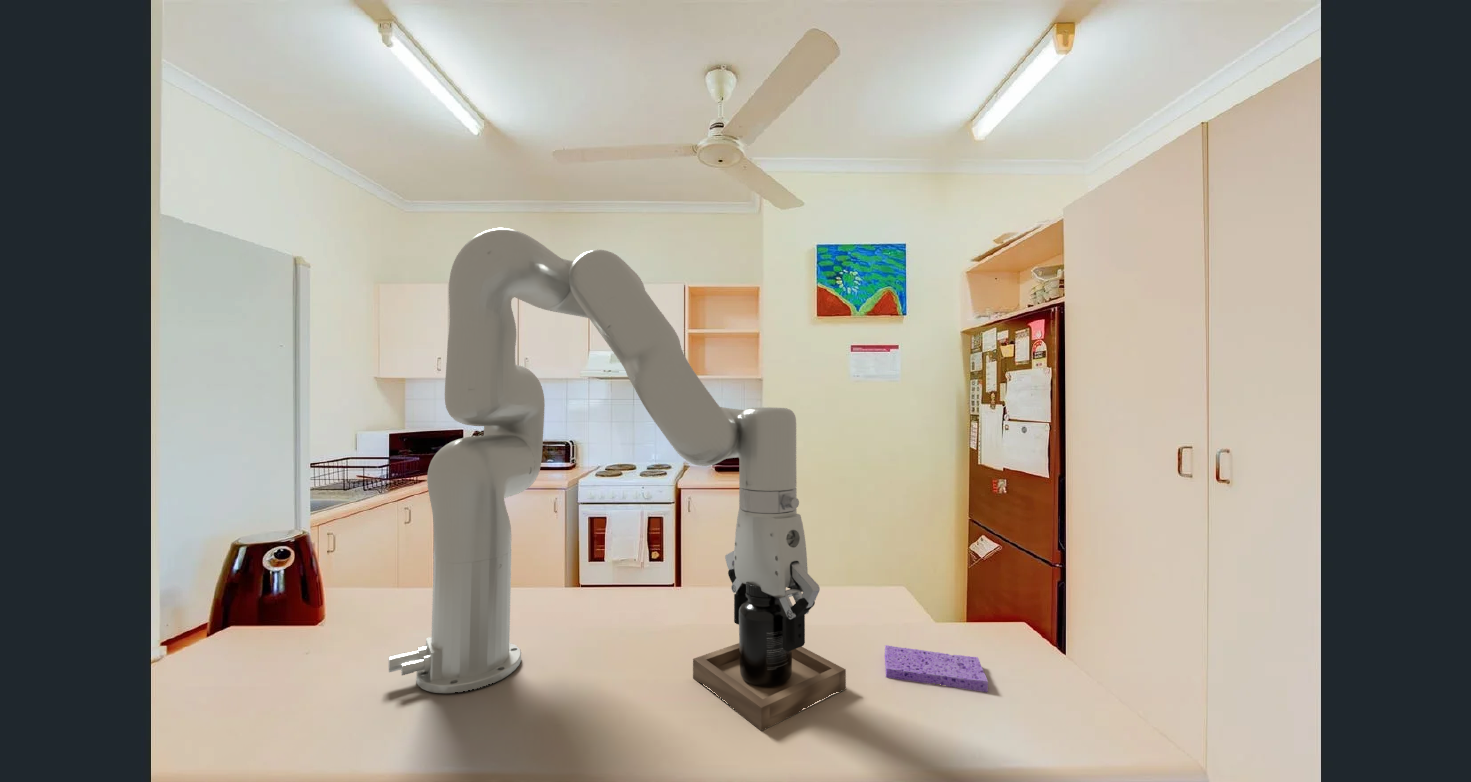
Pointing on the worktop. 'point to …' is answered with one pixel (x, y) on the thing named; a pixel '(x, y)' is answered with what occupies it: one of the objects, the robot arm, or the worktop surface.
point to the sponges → (935, 668)
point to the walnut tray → (769, 703)
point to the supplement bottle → (762, 640)
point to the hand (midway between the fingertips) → (767, 634)
